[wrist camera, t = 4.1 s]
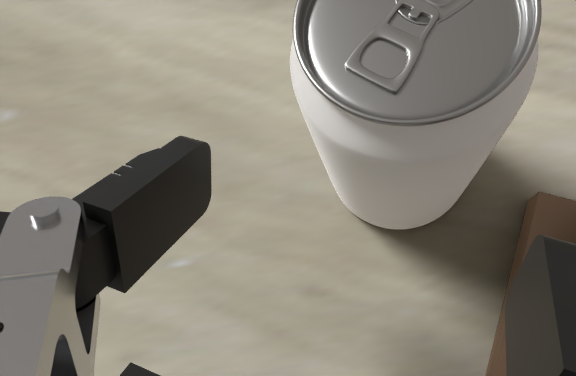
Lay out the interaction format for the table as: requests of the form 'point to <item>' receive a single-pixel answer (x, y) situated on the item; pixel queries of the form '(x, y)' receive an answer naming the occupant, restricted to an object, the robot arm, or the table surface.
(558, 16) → the table surface
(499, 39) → the can
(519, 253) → the socket board
